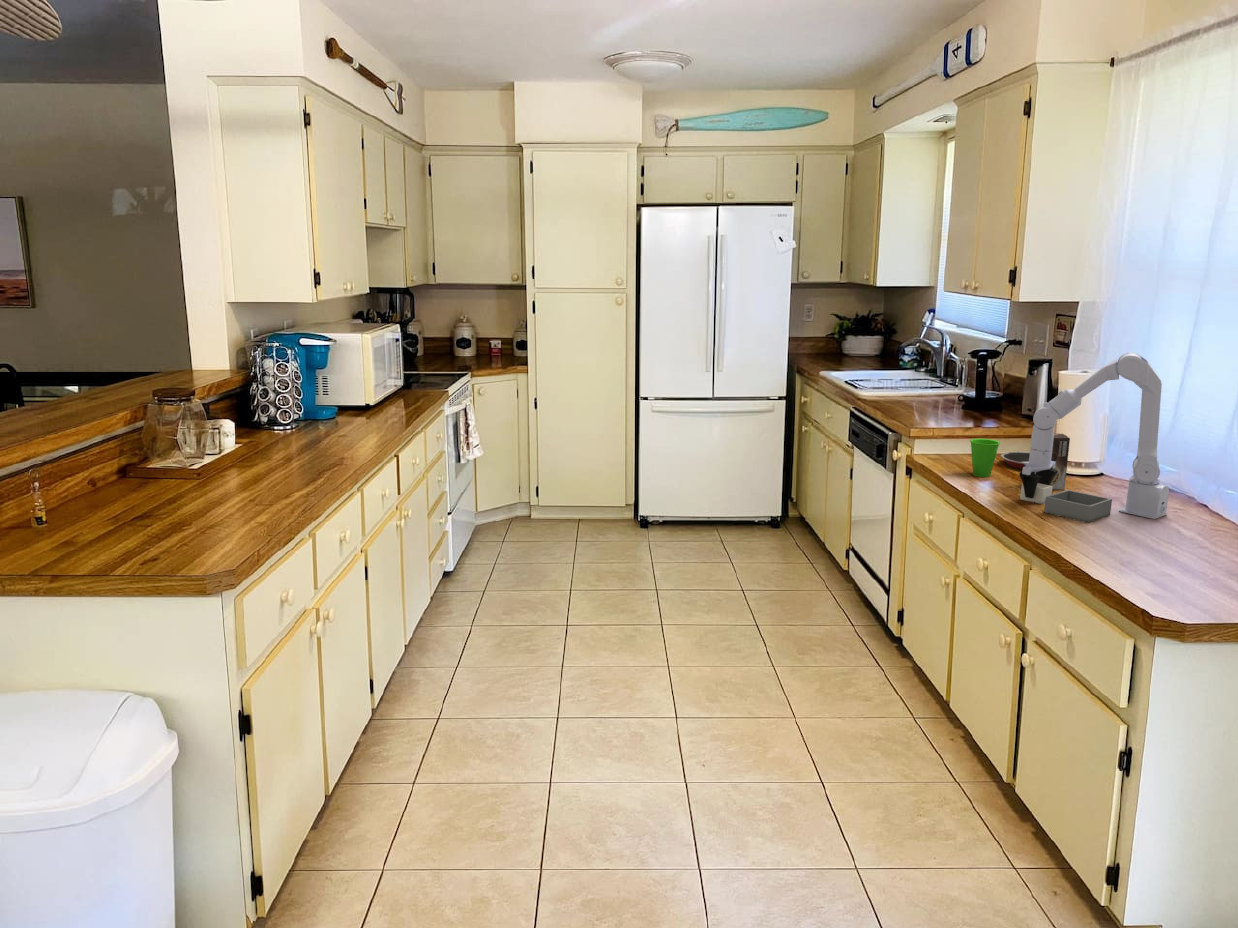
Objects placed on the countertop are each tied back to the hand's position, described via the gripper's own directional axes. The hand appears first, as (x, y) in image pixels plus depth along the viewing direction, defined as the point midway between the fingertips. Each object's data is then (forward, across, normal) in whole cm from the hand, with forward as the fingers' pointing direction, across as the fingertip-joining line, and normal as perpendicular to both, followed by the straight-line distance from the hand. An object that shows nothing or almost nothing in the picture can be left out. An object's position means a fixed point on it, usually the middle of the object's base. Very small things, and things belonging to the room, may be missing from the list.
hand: (1035, 495), depth 267 cm
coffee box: (+2, -17, -6) cm, 18 cm away
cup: (+2, -15, -26) cm, 30 cm away
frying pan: (+2, -35, -18) cm, 39 cm away
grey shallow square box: (+1, +4, +14) cm, 15 cm away
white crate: (+1, 0, 0) cm, 1 cm away
